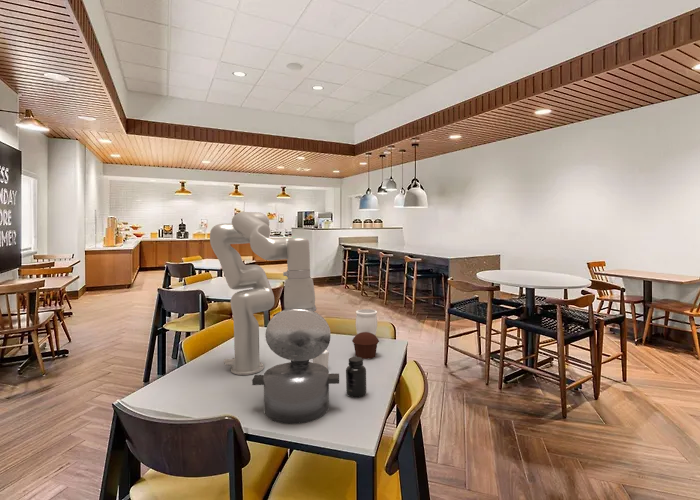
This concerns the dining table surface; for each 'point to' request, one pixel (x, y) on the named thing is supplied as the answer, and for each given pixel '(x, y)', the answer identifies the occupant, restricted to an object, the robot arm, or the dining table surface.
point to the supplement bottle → (356, 378)
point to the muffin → (365, 345)
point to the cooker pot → (296, 391)
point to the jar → (366, 321)
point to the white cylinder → (322, 359)
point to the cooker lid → (298, 334)
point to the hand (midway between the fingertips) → (300, 328)
